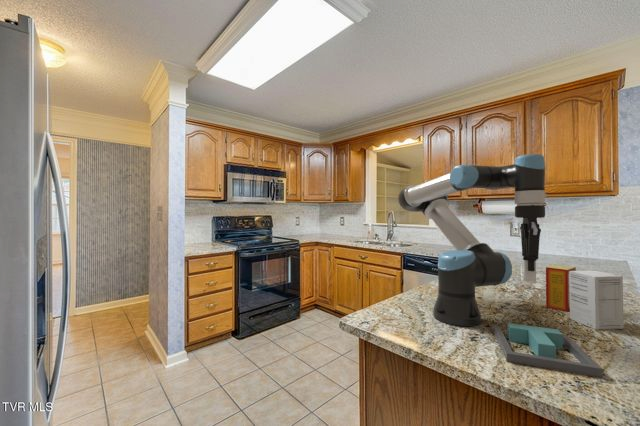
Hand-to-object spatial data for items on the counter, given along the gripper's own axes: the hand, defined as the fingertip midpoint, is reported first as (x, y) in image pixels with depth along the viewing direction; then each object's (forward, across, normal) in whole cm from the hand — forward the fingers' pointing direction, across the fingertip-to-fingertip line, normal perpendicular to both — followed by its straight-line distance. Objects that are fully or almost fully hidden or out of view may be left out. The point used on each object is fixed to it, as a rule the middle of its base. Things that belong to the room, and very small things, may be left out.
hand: (530, 280), depth 87 cm
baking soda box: (+16, +32, -17) cm, 40 cm away
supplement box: (+16, +16, -21) cm, 31 cm away
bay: (+16, -13, +1) cm, 21 cm away
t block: (+16, -13, +1) cm, 20 cm away
